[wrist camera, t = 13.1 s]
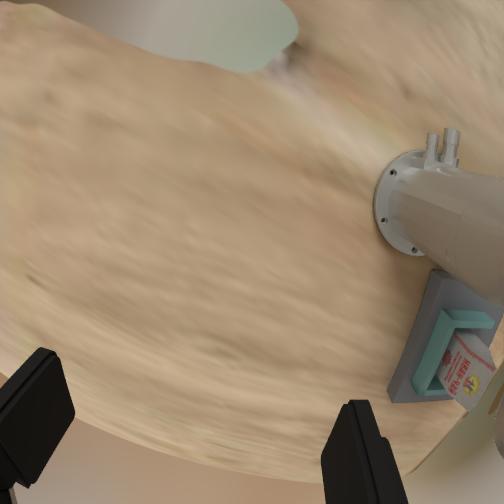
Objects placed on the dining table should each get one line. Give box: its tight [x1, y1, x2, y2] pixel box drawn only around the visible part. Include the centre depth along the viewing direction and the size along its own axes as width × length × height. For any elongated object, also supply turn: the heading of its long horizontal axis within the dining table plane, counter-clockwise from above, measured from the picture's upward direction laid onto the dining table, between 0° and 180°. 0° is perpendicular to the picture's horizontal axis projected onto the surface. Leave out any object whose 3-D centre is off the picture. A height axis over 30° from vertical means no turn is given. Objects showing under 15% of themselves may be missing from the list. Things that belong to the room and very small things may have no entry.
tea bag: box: [435, 328, 497, 412], centre depth 32 cm, size 4×7×10 cm, turn 172°
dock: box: [387, 270, 504, 403], centre depth 37 cm, size 20×14×6 cm
